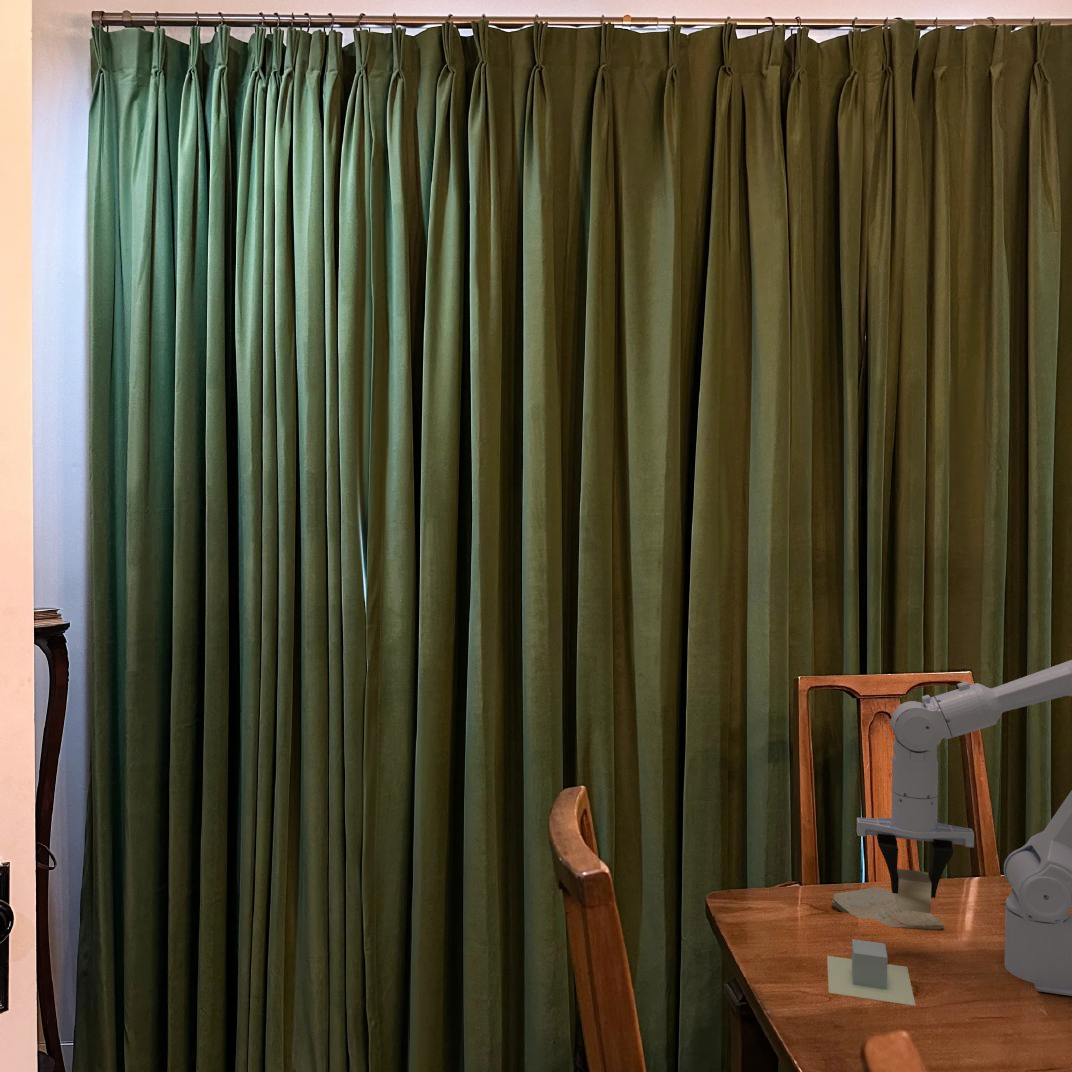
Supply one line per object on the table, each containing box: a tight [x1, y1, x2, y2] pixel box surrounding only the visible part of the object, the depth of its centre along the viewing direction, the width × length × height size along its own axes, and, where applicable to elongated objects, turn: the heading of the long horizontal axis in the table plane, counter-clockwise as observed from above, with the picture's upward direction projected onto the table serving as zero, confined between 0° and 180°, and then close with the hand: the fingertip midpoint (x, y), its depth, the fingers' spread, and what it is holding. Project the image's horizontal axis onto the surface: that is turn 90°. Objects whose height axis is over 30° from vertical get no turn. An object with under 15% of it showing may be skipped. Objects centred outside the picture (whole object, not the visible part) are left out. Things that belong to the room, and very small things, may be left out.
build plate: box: [826, 955, 916, 1007], centre depth 116 cm, size 10×10×1 cm
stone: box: [831, 886, 945, 931], centre depth 136 cm, size 15×11×3 cm
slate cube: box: [851, 938, 889, 989], centre depth 116 cm, size 4×4×4 cm
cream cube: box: [894, 868, 932, 913], centre depth 123 cm, size 4×4×4 cm
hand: (913, 892), depth 123 cm, fingers closed on cream cube, 4 cm apart
